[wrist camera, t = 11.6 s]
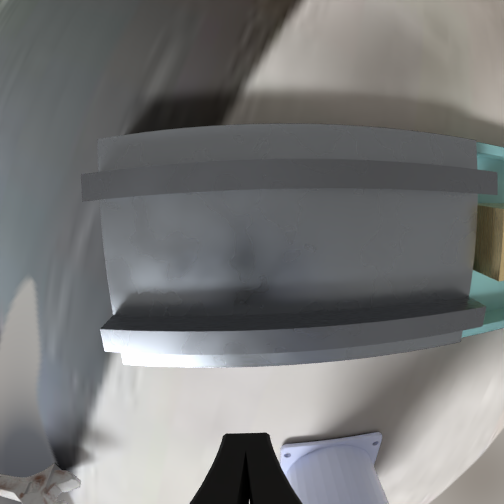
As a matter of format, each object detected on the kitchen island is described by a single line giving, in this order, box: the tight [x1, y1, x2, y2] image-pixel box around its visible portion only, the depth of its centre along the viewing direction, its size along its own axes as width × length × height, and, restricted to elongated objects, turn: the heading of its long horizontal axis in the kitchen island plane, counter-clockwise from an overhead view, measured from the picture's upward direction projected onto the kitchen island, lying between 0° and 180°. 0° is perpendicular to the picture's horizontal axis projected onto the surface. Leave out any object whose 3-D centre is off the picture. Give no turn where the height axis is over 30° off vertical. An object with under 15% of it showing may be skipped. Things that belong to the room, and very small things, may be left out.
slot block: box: [81, 124, 498, 367], centre depth 16 cm, size 12×20×5 cm, turn 92°
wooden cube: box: [473, 203, 504, 282], centre depth 16 cm, size 4×4×4 cm
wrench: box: [0, 463, 81, 504], centre depth 21 cm, size 8×2×30 cm
